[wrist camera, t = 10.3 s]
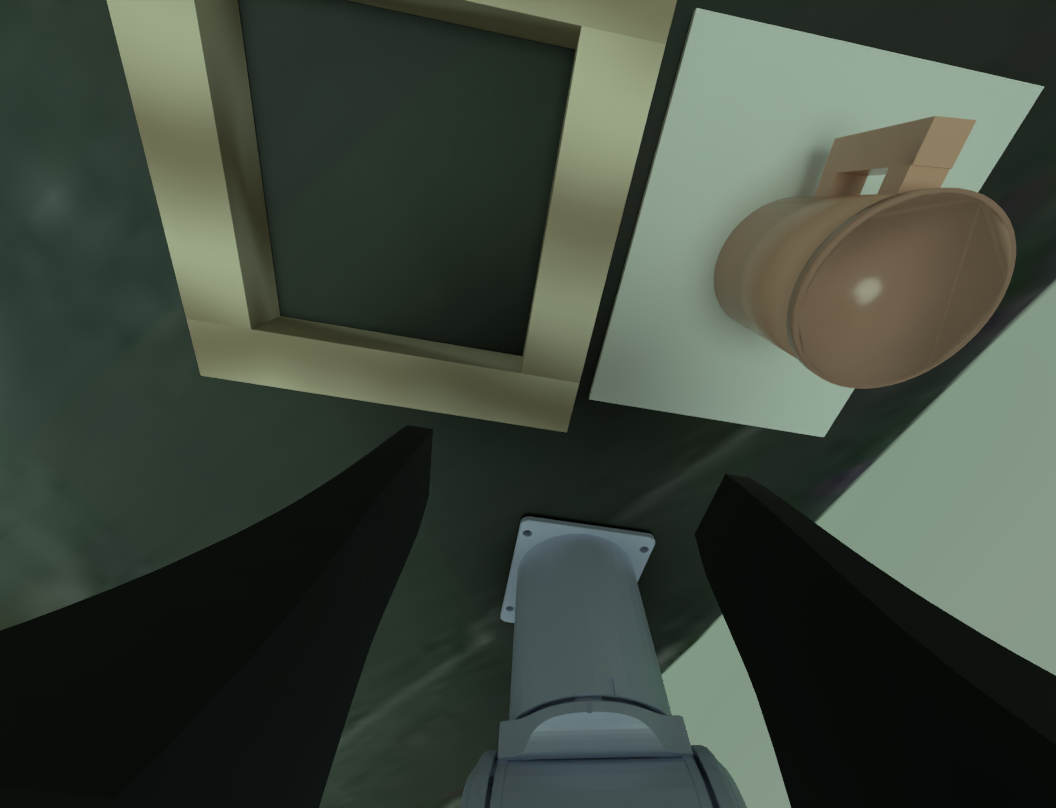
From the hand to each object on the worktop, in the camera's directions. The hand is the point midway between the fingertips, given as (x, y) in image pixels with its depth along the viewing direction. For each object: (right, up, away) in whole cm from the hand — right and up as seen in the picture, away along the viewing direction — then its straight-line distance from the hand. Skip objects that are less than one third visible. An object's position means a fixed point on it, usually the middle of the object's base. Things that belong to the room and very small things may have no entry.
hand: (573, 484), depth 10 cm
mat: (+9, +7, +6) cm, 13 cm away
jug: (+9, +7, +6) cm, 13 cm away
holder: (-6, +10, +6) cm, 13 cm away
